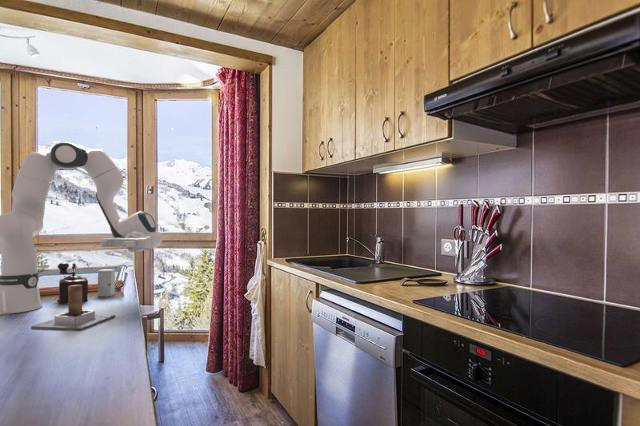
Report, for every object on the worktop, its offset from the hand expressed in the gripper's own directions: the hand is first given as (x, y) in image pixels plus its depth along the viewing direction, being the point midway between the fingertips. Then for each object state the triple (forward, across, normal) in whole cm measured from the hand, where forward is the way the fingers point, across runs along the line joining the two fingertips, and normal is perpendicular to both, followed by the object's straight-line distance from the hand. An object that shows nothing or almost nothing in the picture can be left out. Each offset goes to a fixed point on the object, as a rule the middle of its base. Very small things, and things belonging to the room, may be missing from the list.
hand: (113, 243), depth 145 cm
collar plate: (+19, 0, +26) cm, 32 cm away
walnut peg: (+19, 0, +25) cm, 32 cm away
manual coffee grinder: (-9, -26, +26) cm, 38 cm away
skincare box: (-23, -21, +26) cm, 41 cm away
